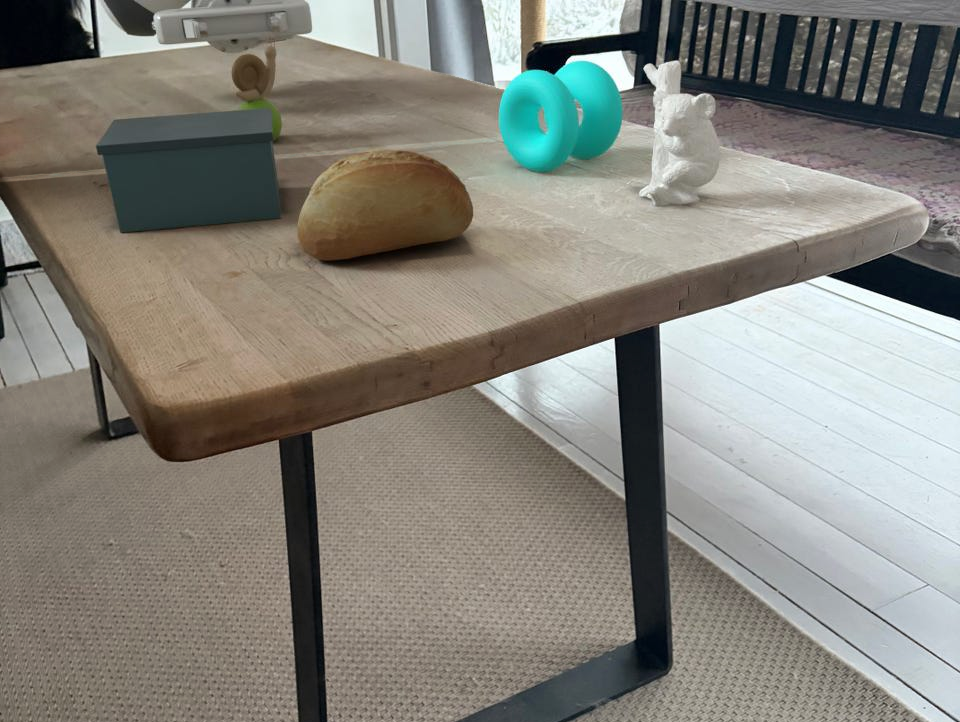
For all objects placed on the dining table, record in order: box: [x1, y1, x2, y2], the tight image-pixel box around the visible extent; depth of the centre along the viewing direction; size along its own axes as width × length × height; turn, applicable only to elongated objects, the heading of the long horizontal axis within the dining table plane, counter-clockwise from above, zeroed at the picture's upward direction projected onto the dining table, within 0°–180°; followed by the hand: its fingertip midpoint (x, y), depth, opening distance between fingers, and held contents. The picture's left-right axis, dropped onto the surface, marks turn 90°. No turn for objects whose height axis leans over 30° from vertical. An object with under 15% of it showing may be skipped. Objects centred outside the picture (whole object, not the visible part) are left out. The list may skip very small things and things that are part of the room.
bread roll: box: [296, 149, 474, 261], centre depth 77 cm, size 10×15×8 cm, turn 114°
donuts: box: [498, 60, 624, 173], centre depth 100 cm, size 10×10×10 cm
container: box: [95, 108, 282, 234], centre depth 90 cm, size 15×12×8 cm
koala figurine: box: [638, 60, 722, 207], centre depth 85 cm, size 8×7×12 cm
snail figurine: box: [231, 35, 283, 143], centre depth 113 cm, size 5×6×12 cm
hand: (239, 28), depth 120 cm, fingers open, 8 cm apart
